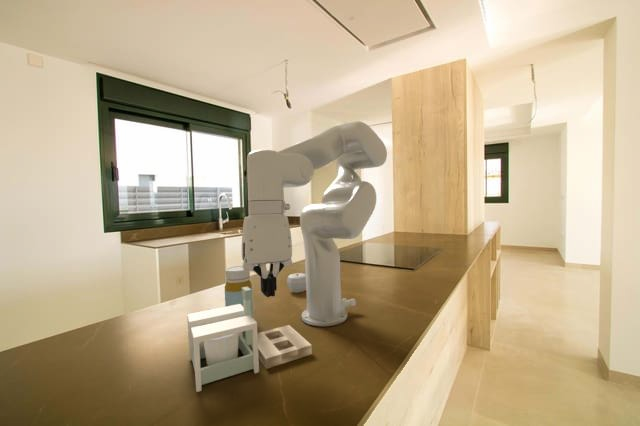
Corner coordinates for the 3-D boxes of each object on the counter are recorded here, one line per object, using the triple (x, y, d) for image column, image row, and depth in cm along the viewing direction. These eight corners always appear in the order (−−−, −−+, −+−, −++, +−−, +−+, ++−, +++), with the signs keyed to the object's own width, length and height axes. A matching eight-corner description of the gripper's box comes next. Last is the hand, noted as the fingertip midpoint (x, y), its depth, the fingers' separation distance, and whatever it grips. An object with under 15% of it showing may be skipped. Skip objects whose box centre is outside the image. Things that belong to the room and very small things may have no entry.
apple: (313, 290, 106) (312, 272, 106) (300, 296, 100) (299, 277, 99) (295, 287, 111) (295, 270, 110) (282, 293, 104) (281, 275, 104)
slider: (245, 345, 65) (243, 282, 65) (259, 366, 57) (256, 294, 56) (192, 359, 60) (188, 291, 60) (198, 386, 51) (194, 306, 51)
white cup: (229, 377, 54) (228, 340, 54) (196, 374, 55) (194, 337, 55) (246, 357, 61) (244, 324, 60) (216, 355, 62) (214, 322, 62)
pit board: (289, 333, 72) (289, 324, 72) (312, 354, 61) (311, 344, 61) (249, 343, 67) (248, 335, 67) (266, 368, 56) (265, 358, 56)
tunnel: (242, 345, 66) (240, 303, 66) (259, 372, 55) (256, 322, 55) (189, 359, 61) (187, 314, 61) (196, 392, 50) (193, 337, 50)
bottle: (258, 320, 80) (255, 266, 80) (243, 331, 74) (241, 272, 73) (236, 317, 83) (234, 265, 82) (220, 328, 76) (218, 271, 75)
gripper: (291, 208, 69) (293, 286, 69) (226, 210, 62) (229, 296, 62) (305, 208, 62) (308, 293, 63) (234, 210, 55) (237, 306, 55)
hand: (268, 295), depth 62 cm, fingers closed
